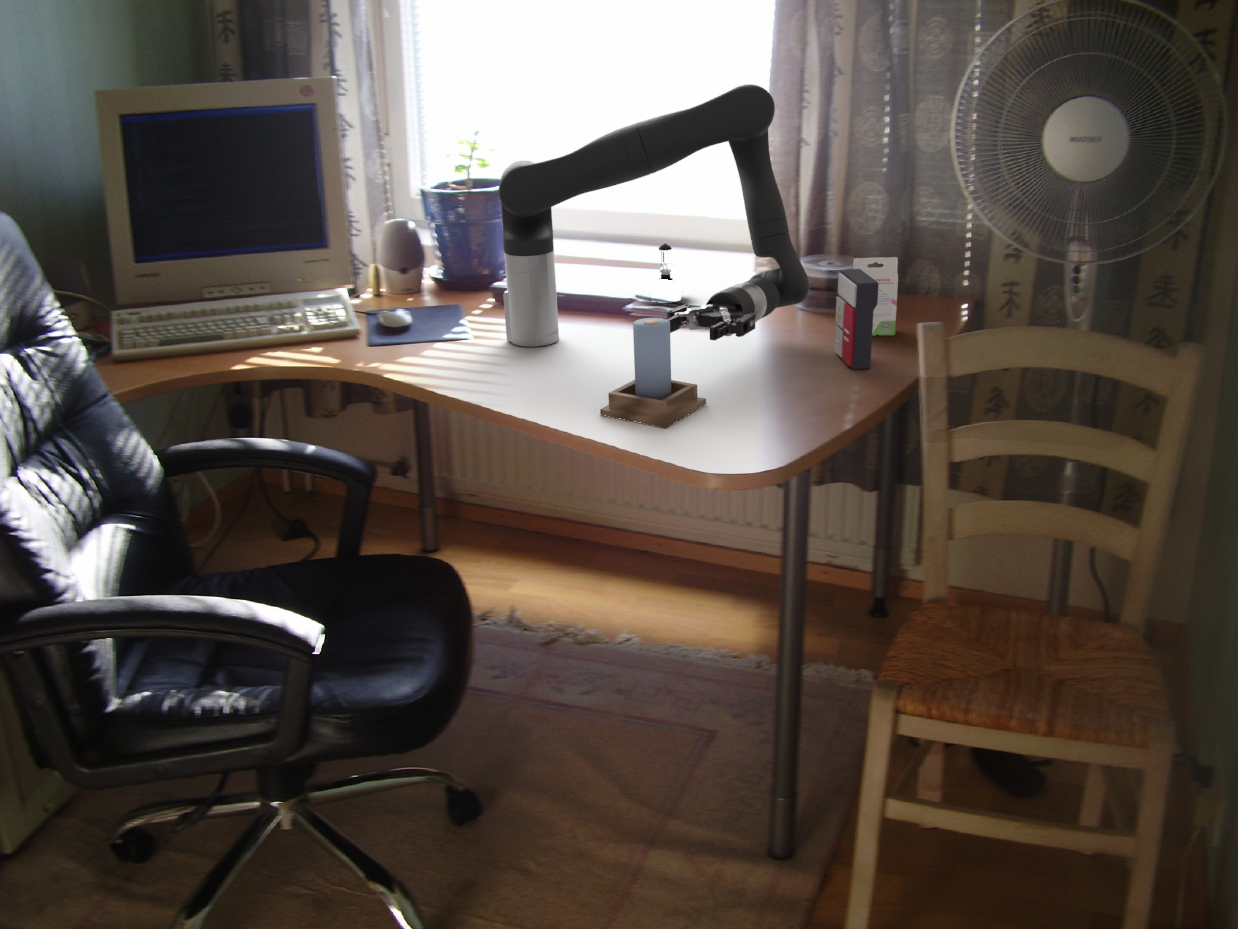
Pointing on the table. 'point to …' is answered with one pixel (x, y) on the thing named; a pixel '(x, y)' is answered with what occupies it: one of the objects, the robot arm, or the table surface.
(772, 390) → the table surface
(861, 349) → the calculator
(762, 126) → the robot arm
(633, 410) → the walnut holder
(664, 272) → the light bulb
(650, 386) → the blue-grey tall cylinder
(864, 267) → the ink box
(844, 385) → the table surface
